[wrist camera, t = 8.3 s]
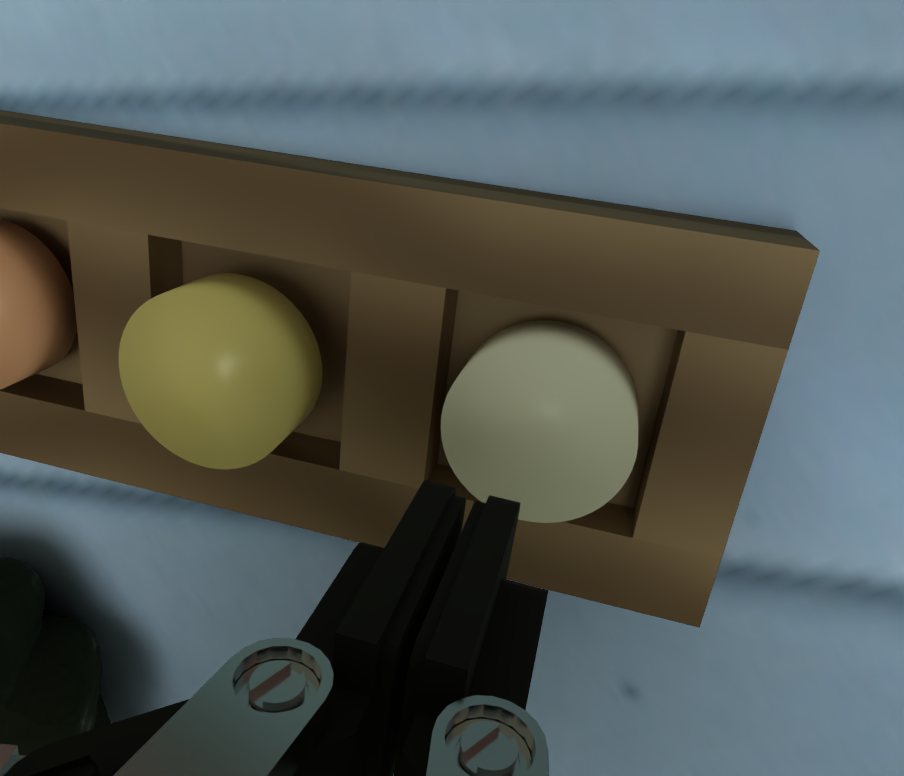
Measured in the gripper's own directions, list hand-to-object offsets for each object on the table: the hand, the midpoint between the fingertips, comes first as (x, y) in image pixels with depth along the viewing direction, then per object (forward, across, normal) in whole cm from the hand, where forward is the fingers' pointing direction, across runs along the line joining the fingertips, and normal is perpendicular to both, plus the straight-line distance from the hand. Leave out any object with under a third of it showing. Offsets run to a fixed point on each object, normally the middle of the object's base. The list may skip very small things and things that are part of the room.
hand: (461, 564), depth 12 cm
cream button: (+7, -1, 0) cm, 7 cm away
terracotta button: (+7, +15, 0) cm, 17 cm away
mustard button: (+6, +7, 0) cm, 10 cm away
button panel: (+9, +7, 0) cm, 11 cm away
